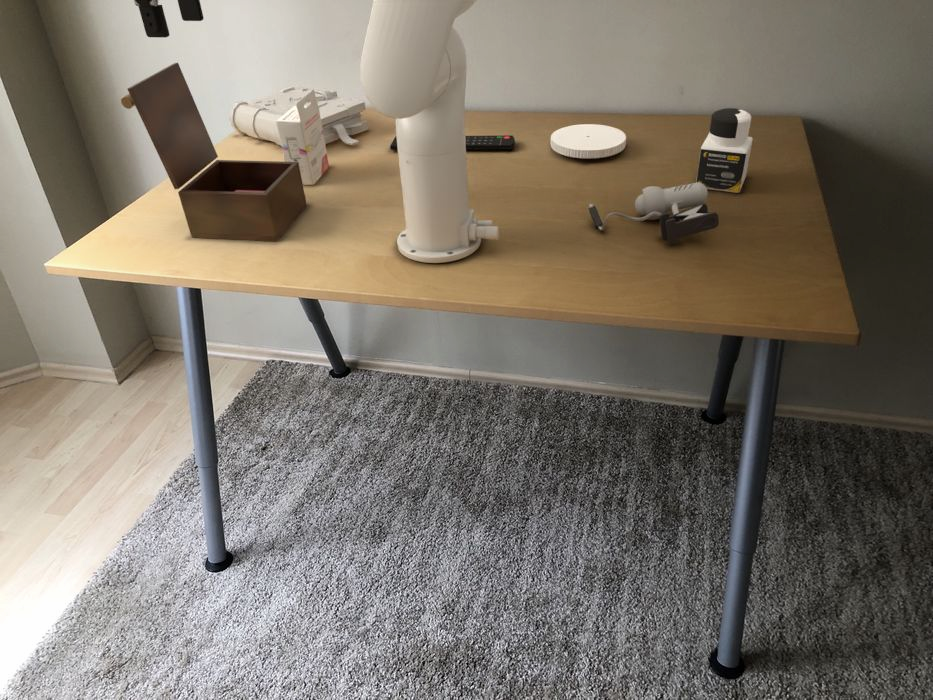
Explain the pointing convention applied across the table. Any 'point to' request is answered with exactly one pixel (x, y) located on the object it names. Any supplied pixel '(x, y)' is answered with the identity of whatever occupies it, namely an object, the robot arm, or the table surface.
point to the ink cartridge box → (304, 139)
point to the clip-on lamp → (671, 199)
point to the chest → (243, 200)
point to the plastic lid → (588, 141)
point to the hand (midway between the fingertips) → (176, 28)
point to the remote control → (481, 142)
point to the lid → (172, 123)
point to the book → (264, 112)
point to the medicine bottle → (726, 151)
